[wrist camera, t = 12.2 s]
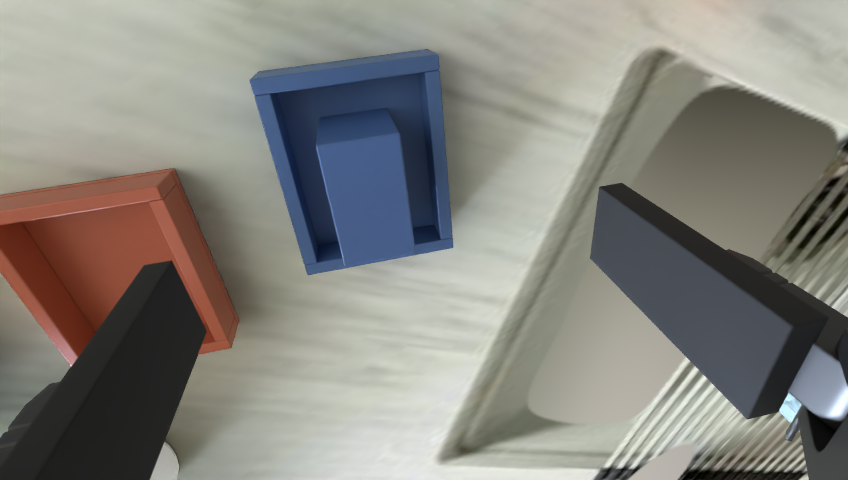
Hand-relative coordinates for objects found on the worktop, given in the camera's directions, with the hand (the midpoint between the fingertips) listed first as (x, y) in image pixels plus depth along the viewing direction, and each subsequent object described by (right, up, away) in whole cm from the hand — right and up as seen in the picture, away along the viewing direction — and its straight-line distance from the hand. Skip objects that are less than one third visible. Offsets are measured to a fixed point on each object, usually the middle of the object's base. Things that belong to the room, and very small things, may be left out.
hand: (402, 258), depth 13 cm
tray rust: (-16, -1, +10) cm, 19 cm away
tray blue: (-3, +5, +10) cm, 12 cm away
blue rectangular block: (-3, +5, +10) cm, 11 cm away
